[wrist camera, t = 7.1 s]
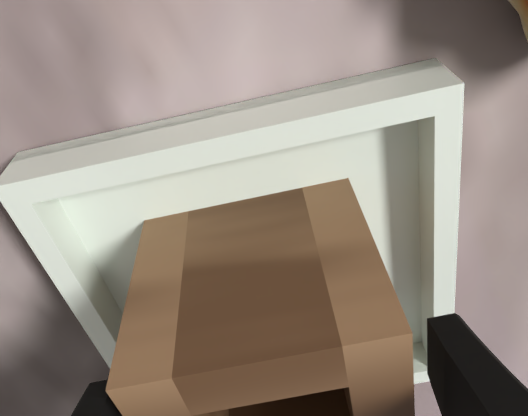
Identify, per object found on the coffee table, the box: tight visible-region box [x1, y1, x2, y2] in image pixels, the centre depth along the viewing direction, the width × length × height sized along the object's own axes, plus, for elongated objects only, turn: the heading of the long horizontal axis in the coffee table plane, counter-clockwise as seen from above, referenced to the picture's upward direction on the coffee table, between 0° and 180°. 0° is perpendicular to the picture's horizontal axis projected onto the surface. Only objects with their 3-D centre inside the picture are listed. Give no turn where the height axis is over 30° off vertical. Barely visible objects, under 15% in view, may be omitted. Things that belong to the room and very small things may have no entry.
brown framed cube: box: [105, 178, 415, 416], centre depth 12 cm, size 5×5×5 cm
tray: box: [0, 58, 464, 384], centre depth 14 cm, size 10×10×2 cm
